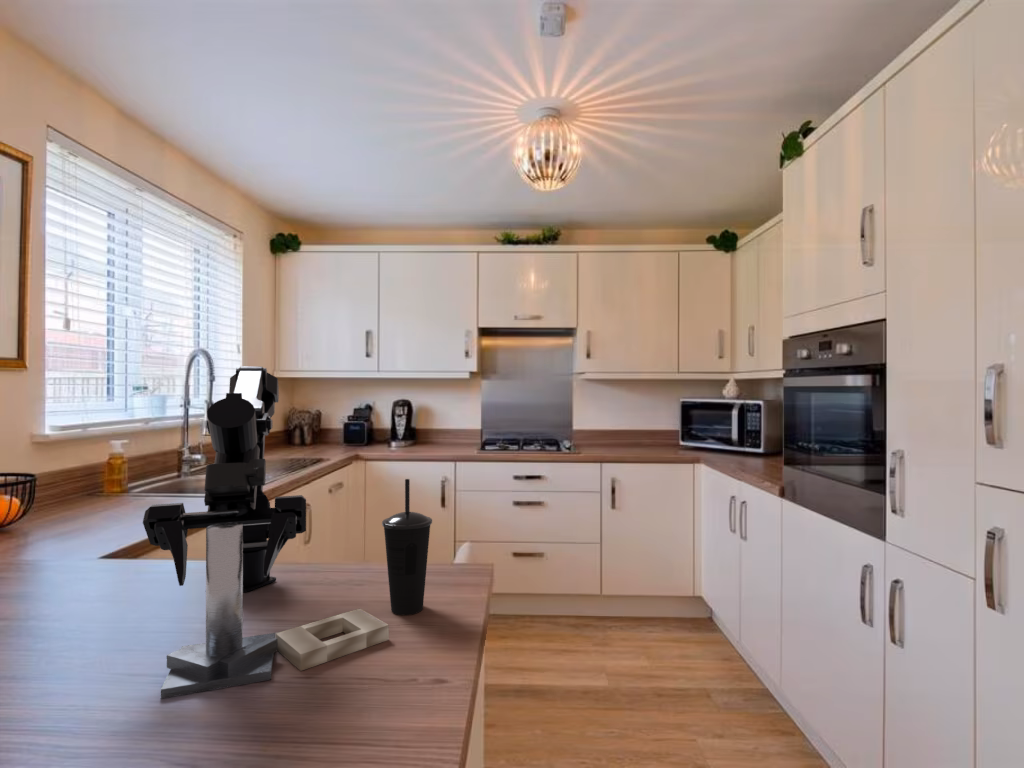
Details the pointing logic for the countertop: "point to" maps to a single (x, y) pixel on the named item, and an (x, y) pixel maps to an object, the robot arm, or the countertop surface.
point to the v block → (219, 666)
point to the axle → (224, 588)
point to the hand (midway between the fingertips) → (224, 579)
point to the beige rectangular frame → (310, 651)
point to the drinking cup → (407, 557)
